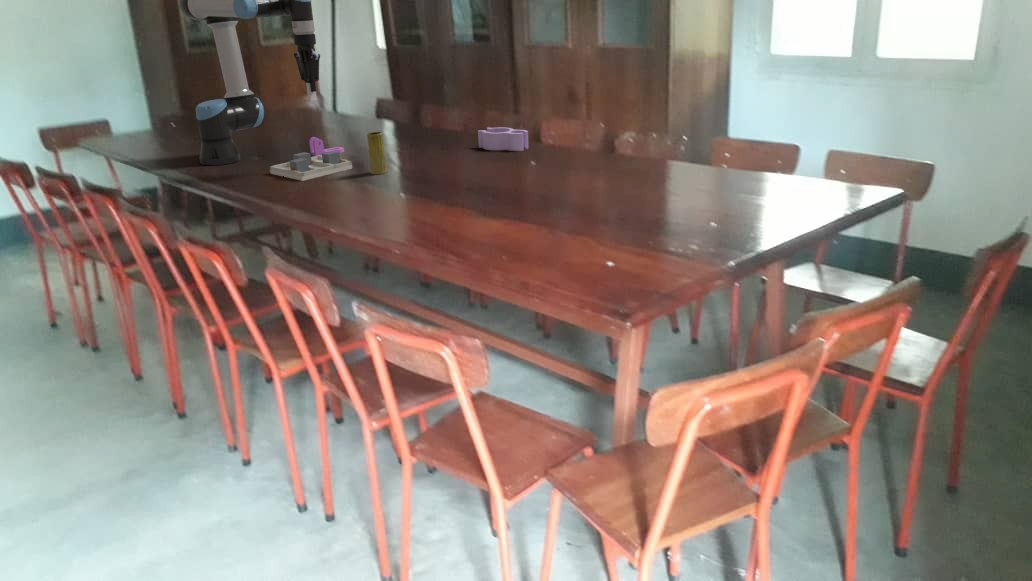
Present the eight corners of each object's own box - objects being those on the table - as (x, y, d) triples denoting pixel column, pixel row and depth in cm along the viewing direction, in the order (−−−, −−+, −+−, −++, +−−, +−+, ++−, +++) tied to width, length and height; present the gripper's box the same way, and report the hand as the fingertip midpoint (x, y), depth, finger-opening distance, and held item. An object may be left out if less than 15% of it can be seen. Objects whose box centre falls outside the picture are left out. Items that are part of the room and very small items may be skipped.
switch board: (270, 173, 294) (269, 165, 293) (320, 162, 309) (319, 154, 308) (302, 180, 281) (301, 172, 280) (352, 168, 297) (351, 160, 295)
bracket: (316, 156, 319) (313, 139, 317) (310, 154, 323) (308, 137, 321) (346, 151, 326) (344, 134, 323) (340, 149, 330) (338, 133, 328)
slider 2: (291, 171, 287) (289, 160, 286) (302, 169, 291) (301, 158, 289) (297, 173, 285) (295, 162, 283) (309, 170, 288) (307, 159, 287)
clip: (533, 146, 321) (533, 129, 318) (517, 153, 311) (516, 135, 309) (491, 143, 331) (491, 126, 328) (475, 149, 321) (474, 132, 318)
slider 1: (294, 165, 297) (292, 154, 296) (305, 162, 301) (304, 152, 299) (300, 166, 295) (299, 155, 293) (311, 163, 298) (310, 153, 297)
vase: (371, 175, 285) (366, 135, 280) (369, 171, 291) (365, 132, 285) (388, 173, 287) (384, 133, 281) (386, 170, 292) (382, 130, 287)
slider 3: (323, 164, 297) (321, 153, 295) (334, 161, 300) (332, 151, 299) (329, 165, 294) (328, 154, 293) (340, 162, 298) (339, 152, 296)
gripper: (284, 33, 286) (293, 100, 295) (306, 34, 278) (314, 103, 286) (302, 32, 291) (310, 97, 300) (323, 32, 283) (331, 100, 292)
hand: (312, 100), depth 293 cm, fingers closed
